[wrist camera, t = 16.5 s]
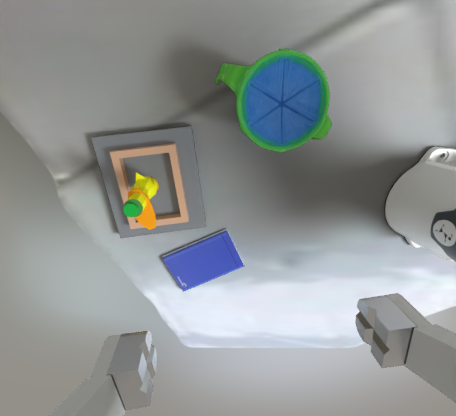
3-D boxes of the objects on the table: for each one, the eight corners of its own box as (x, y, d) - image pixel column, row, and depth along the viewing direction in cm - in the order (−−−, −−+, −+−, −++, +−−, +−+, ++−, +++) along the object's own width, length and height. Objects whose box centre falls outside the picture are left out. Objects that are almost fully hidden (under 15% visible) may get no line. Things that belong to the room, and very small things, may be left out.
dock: (191, 125, 39) (190, 127, 36) (205, 223, 45) (206, 231, 42) (94, 136, 38) (86, 139, 35) (123, 233, 44) (117, 242, 41)
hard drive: (183, 292, 49) (244, 267, 48) (161, 259, 46) (227, 231, 45) (183, 287, 50) (243, 262, 49) (163, 254, 47) (226, 227, 46)
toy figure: (171, 200, 41) (161, 238, 30) (150, 208, 41) (132, 248, 30) (153, 160, 39) (134, 185, 28) (130, 168, 39) (103, 196, 28)
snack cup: (199, 103, 38) (198, 104, 28) (240, 32, 35) (255, 7, 25) (283, 161, 42) (306, 179, 33) (326, 102, 39) (365, 103, 30)
